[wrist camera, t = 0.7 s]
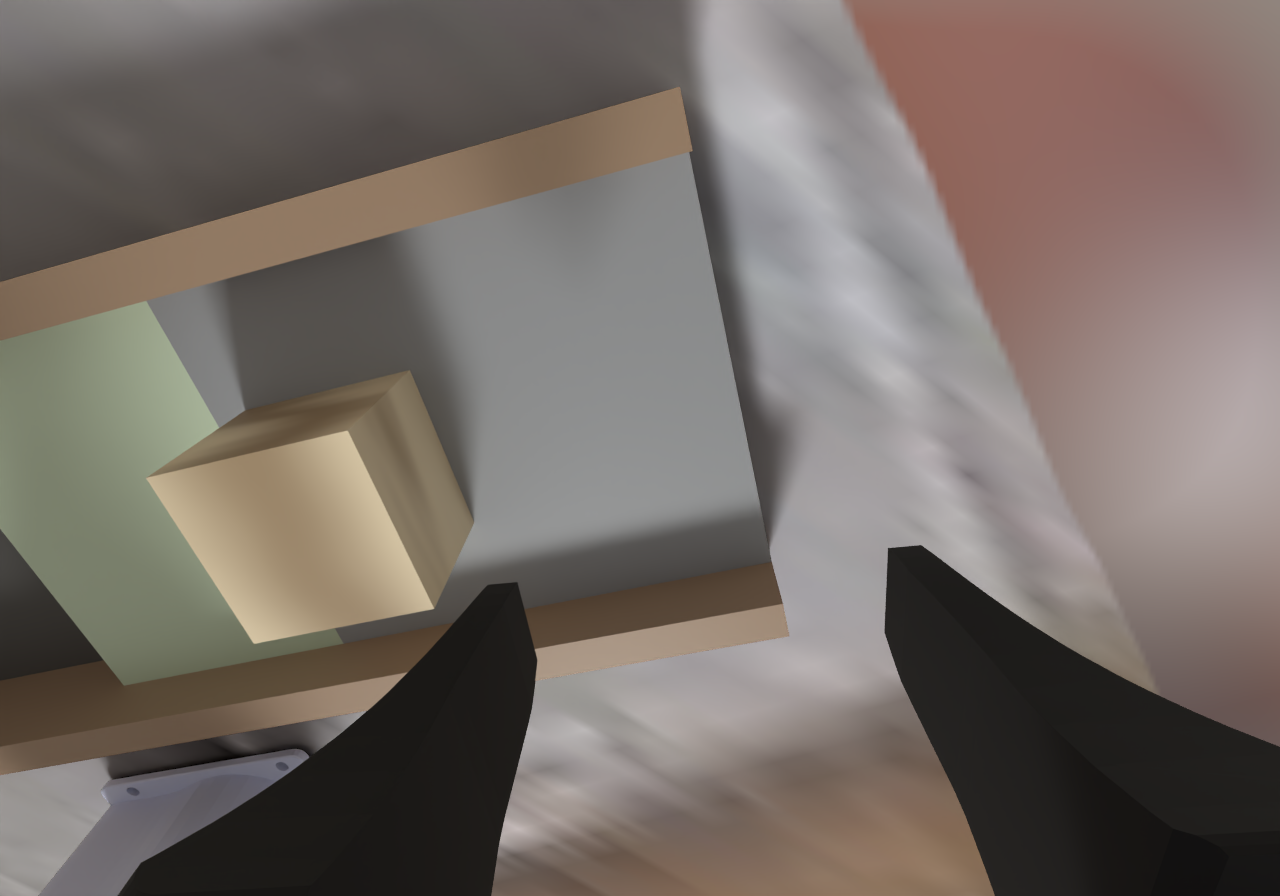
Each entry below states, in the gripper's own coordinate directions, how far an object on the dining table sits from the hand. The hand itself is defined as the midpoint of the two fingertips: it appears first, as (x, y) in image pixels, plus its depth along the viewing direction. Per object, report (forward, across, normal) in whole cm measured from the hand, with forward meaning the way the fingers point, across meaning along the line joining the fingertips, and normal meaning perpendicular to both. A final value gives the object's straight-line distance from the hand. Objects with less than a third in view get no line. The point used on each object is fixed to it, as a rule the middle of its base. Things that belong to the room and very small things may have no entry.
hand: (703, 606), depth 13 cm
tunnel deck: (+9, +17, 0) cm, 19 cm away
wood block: (+7, +9, -1) cm, 12 cm away
